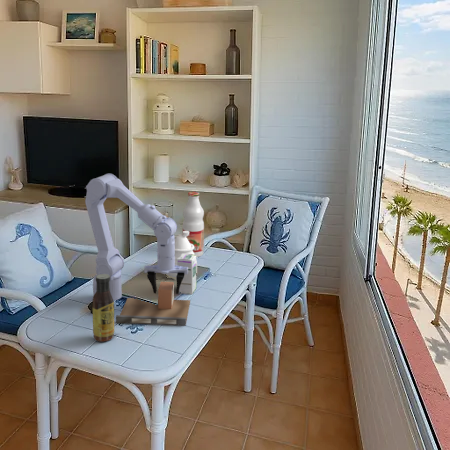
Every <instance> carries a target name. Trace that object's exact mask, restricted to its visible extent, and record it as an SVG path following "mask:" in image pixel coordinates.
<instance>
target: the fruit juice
mask: <svg viewBox="0 0 450 450" xmlns="http://www.w3.org/2000/svg"><path fill="white" fill-rule="evenodd" d="M187 196H188V200H187V202H186V205H185V206H184V208H183V211H182V216H183V221H182V232H183V231H189V235H188V236H187V237H186V238H187V239H188V241H189V243H191V244H193V245H194V249H193V252H194V254H195V255H196V258H198V257H202V256H203V255H204V247H205V244H204V243H205V241H204V239H205V222H204V215H205V211H204V208H203V207H202V205H201V202H200V199H199V198H200V192H198V191H189V192H188V193H187Z"/></svg>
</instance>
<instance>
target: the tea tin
mask: <svg viewBox="0 0 450 450" xmlns="http://www.w3.org/2000/svg"><path fill="white" fill-rule="evenodd" d="M174 285H175V283H174V281H160V284H159V286H158V291H157V292H158V293H157V294H158V297H157V299H158V309H172V305H173V302H174V300H175V298H174V296H175V295H174V294H175V293H174V291H175V286H174Z"/></svg>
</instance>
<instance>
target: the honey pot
mask: <svg viewBox="0 0 450 450" xmlns="http://www.w3.org/2000/svg"><path fill="white" fill-rule="evenodd" d="M188 235H189V231H183V230H182V234H181V233H180V234H177V236H175V265H177V259H178V258H179V257H180V256H181V254H193V255H195V254H194V252H193V249H194V245H193V244H191V243H189V241H188V239H187V238H186V237H187V236H188ZM196 273H197V274H198V261H197V260H196ZM167 275H169V276H172V277H176V276H177V273H168V274H167Z"/></svg>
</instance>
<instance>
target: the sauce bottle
mask: <svg viewBox="0 0 450 450" xmlns="http://www.w3.org/2000/svg"><path fill="white" fill-rule="evenodd" d="M96 275H97V274H96ZM109 281H110V276H109V275H107V274H99V275H97V276H96V282H97V285H96V286H97V288H96V290H97V291H96V293H95V295H94V296H92V334H93V339H94V340H95V341H97V342H101V343H102V342H108V341H111V340H112V339H114V336H115V300H113V298H112V295H111V292H110V287H109Z"/></svg>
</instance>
